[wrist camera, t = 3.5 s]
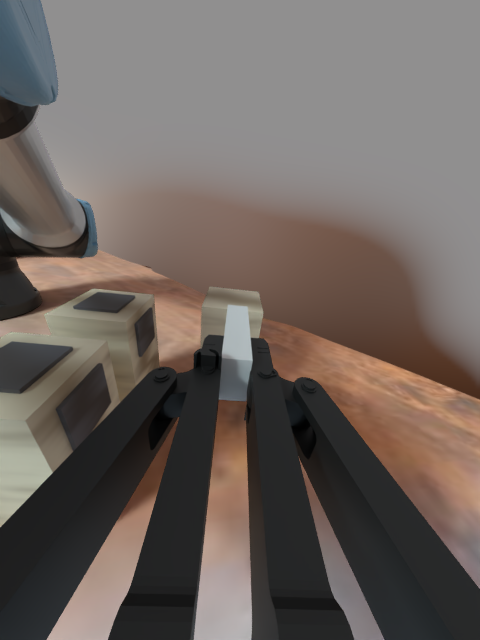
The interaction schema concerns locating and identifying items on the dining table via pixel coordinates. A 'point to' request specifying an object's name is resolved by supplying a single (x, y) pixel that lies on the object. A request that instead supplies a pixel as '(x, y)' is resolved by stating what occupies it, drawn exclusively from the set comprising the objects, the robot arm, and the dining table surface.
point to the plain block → (217, 310)
